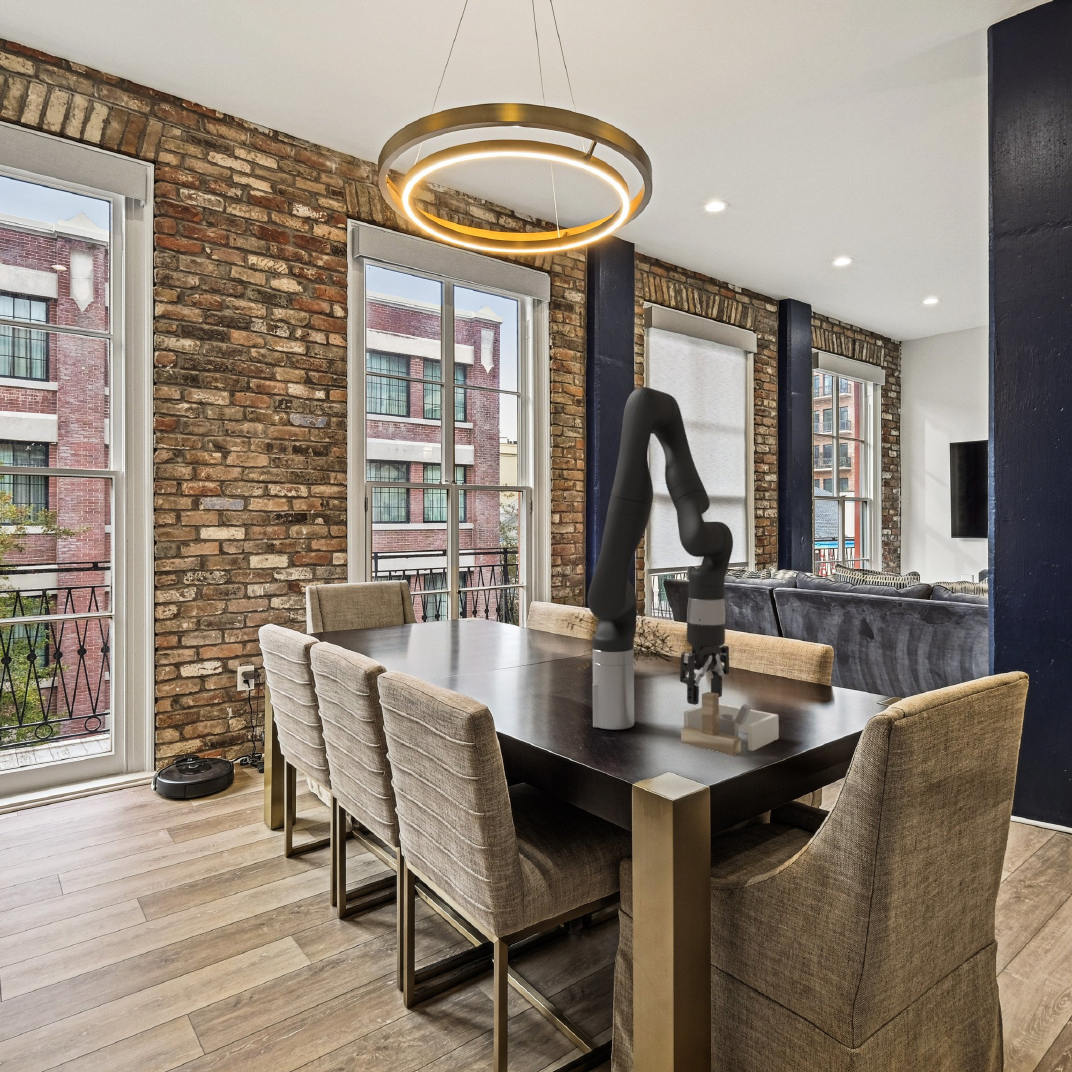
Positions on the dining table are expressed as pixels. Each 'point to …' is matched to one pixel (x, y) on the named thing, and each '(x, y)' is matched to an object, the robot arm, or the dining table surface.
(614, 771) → the dining table surface
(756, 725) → the box
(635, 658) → the dried plant
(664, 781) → the dining table surface
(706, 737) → the wooden t-shaped post
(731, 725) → the lighter
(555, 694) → the dining table surface
